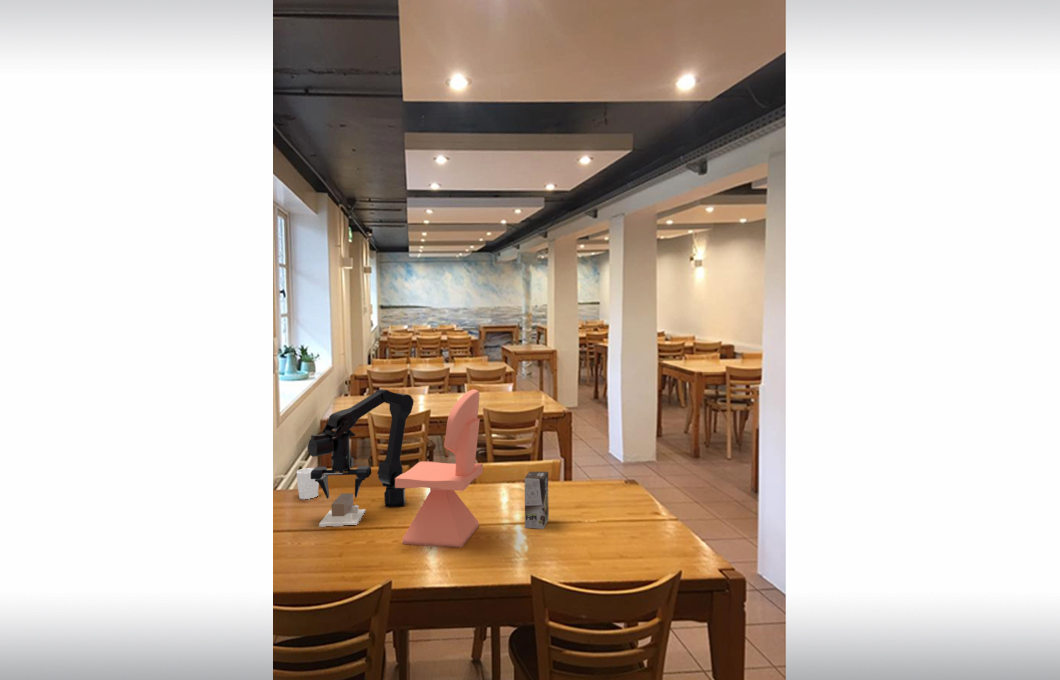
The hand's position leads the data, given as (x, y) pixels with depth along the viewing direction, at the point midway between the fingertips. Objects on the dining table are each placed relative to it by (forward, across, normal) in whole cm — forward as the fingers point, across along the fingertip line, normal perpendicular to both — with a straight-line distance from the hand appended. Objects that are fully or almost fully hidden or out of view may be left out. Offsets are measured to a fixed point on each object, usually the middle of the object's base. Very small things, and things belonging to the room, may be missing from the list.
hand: (342, 497), depth 219 cm
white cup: (+7, +19, -27) cm, 34 cm away
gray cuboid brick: (+4, 0, 0) cm, 4 cm away
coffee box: (+7, -64, +10) cm, 65 cm away
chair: (+7, -35, +18) cm, 40 cm away
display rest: (+7, 0, 0) cm, 7 cm away
